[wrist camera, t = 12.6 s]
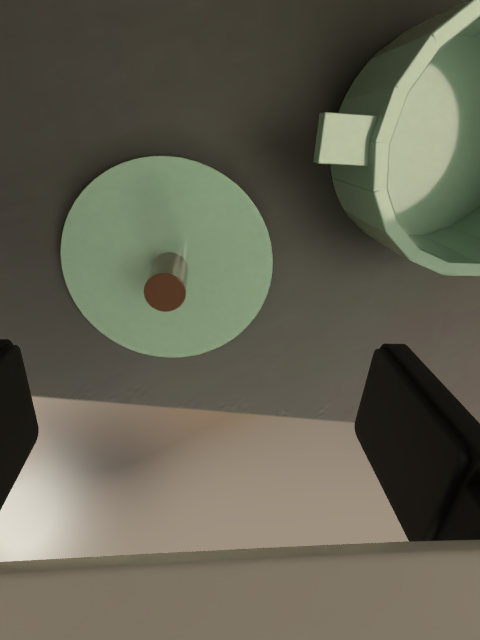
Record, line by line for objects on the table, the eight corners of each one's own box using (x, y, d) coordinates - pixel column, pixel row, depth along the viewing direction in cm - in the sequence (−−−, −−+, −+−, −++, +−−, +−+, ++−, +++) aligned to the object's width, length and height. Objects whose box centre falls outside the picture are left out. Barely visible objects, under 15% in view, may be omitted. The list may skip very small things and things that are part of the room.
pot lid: (49, 148, 24) (8, 152, 19) (279, 160, 26) (299, 167, 21) (80, 350, 31) (56, 394, 26) (262, 350, 33) (274, 391, 28)
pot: (306, 6, 22) (351, -49, 16) (597, 35, 24) (746, -2, 18) (281, 239, 28) (306, 272, 22) (516, 247, 31) (604, 279, 24)
